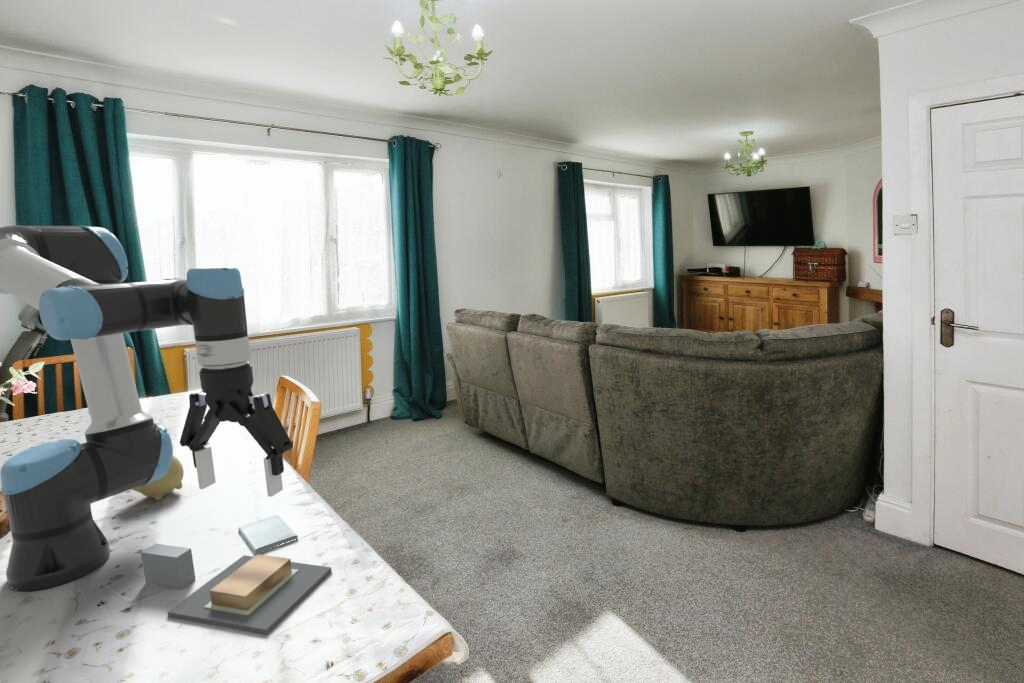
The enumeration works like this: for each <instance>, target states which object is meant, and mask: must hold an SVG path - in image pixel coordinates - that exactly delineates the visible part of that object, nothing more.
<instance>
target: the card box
mask: <svg viewBox="0 0 1024 683" xmlns="http://www.w3.org/2000/svg"><path fill="white" fill-rule="evenodd" d="M291 562H292V560H291V558H286V557H280V556H271V555H265V554H260V553H259V554H256V555H254V556H253V558H252V559H251V560H249V561H248V562H247V563H245V564H244V565H243V566H241V567H240V568H239V569H237V570H236V571H235V572H234V573H232V574H231V575H230V576H228V577H227V578H226V579H224V580H223V581H222V582H220V583H219V584H218V585H216V586H215V587H214V588H212V589H211V590H210V596H211V603H212V605H218V606H223V607H229V608H235V609H241V610H249V609H250V608H251V607H252V606H253V605H254V604H255V603H257V602H258V601H259V600H260V599H261V598H262V597H264V596H265V595H266V594H267V593H268V592H269V591H270V590H272V589H273V588H274V587H275V586H276V585H277V584H278V583H280V582H281V581H282V580H283V579H284V578H285V577H286V576H288V575H289V574H290V573H291V572H292V568H291Z"/></svg>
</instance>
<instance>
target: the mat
mask: <svg viewBox="0 0 1024 683" xmlns="http://www.w3.org/2000/svg"><path fill="white" fill-rule="evenodd" d="M253 557H254V556H250V555H245V554H244V555H242V556H240V557H239V558H238V559H237V560H236V561H234V562H233V563H232V564H230V565H229V566H227V567H226V568H224V569H223V570H222V571H221V572H220V573H218V574H217V575H215V576H213V578H212V579H210V580H209V581H207V582H206V583H204V584H203V585H202V586H200V587H199V588H197V589H195V591H194V592H192V593H191V594H190V595H188V596H187V597H185V598H184V599H182V600H181V601H180V602H179V603H177V604H175V605H174V606H173V607H171V609H169V610H168V611H167V617H168V618H174V619H175V618H176V619H180V620H186V621H189V622H197V623H201V624H207V625H214V626H219V627H223V628H230V629H233V630H234V629H235V630H238V631H239V630H240V631H245V632H250V633H251V632H252V633H257V634H262V635H268V634H269V633H270V632H271V631H272V630H273V629H275V627H276V626H277V625H279V623H281V621H282V620H284V619H285V617H287V616H288V615H289V613H291V612H292V610H294V609H295V608H296V607H297V606H298V605H299V604H300V603H301V602H302V601H303V600H304V599H305V598H306V597H307V596H308V595H309V594H310V593H311V592H312V591H314V589H315V588H317V587H318V585H319V584H320V583H321V582H323V581H324V579H325V578H327V577H328V576H329V575H330V572H331V571H332V567H330V566H323V565H317V564H308V563H302V562H296V561H295V562H294V561H291V568H292V572H291V573H290V574H289V575H288V576H286V577H285V578H284V579H283V580H282V581H281V582H280V583H278V584H277V585H276V586H275V587H274V588H273V589H272V590H270V591H269V592H268V593H267V594H266V595H265V596H264V597H262V598H261V599H260V600H259V601H258V602H257V603H255V604H254V605H253V606H252V607H251V608H250V609H249V610H241V609H235V608H229V607H223V606H218V605H212V603H211V596H210V590H211V589H212V588H214V587H215V586H216V585H218V584H219V583H220V582H222V581H223V580H224V579H226V578H227V577H228V576H230V575H231V574H232V573H234V572H235V571H236V570H237V569H239V568H240V567H241V566H243V565H244V564H245V563H247V562H248V561H249V560H251V559H252V558H253Z"/></svg>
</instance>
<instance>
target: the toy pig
mask: <svg viewBox="0 0 1024 683" xmlns="http://www.w3.org/2000/svg"><path fill="white" fill-rule="evenodd" d="M183 478H184V467H183V464H182V463H181V461H180V460H179V459H178V458H177V457H176V455H175V456H174V455H173V458H172V463H171V466H170V468H169V470H168V472H167V474H166V475H165V476H163V477H162V478H160V479H158V480H156V481H153V482H151V483H148V484H147V485H145V486H143V487H142V486H141V487H136V488H133V489H131V490H132V491H134V492H137V493H140V494H142V495H143V496H145V497H147V498H148V497H149V498H154V499H155V500H156V501H157V502H158V501H159V502H160V501H161V500H162V499H163V497H164V496H165V495H167V494H169V493H171V492H173V491H174V490H175V489H176V490H181V489H182V488H183V483H182V482H183Z"/></svg>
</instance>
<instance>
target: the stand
mask: <svg viewBox="0 0 1024 683" xmlns="http://www.w3.org/2000/svg"><path fill="white" fill-rule="evenodd" d="M140 557H141V561H142V562H141V563H142V569H143V575H144V581H145V584H148V585H153V586H161V587H165V588H166V587H167V588H172V589H178V590H183V589H184V588H185V587H187V586H189V585H190V584H191V583H192V582H194V581H196V573H195V567H194V566H195V565H194V559H193V558H194V557H193V553H192V547H191V548H189V547H184V546H176V545H171V544H170V545H169V544H161V543H154V544H153V545H150V546H149V547H147V548H145V549H143V550H142V551H140Z"/></svg>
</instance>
